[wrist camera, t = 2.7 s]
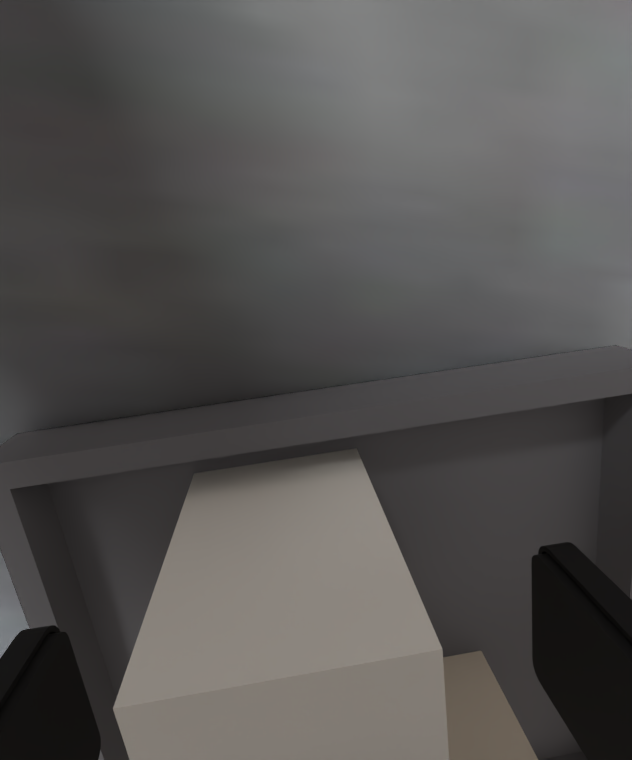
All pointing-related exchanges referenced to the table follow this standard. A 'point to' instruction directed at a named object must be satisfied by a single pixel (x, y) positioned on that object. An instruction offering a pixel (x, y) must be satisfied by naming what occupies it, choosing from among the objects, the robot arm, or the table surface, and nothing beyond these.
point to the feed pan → (391, 484)
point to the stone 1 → (284, 627)
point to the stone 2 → (480, 713)
